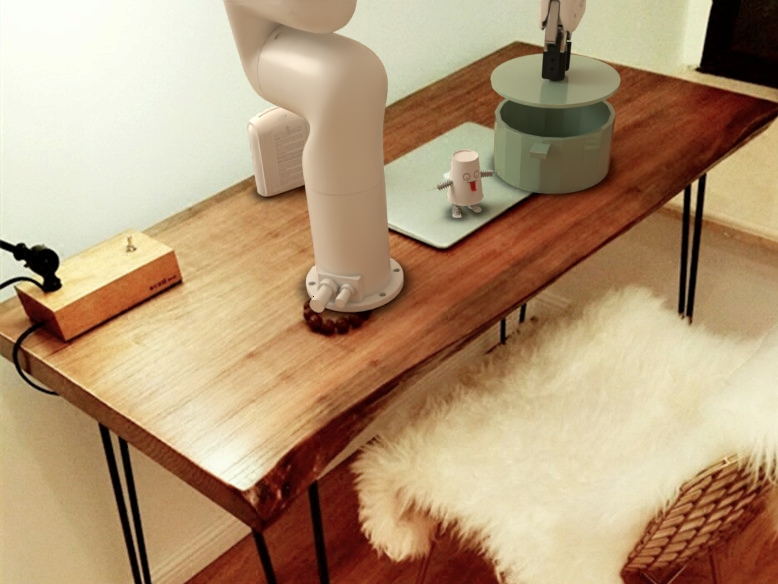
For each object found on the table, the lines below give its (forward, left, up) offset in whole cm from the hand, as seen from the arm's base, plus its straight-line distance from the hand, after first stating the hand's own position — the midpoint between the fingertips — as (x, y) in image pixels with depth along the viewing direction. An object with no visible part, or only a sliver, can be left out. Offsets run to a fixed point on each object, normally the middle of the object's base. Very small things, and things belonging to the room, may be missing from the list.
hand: (555, 73), depth 128 cm
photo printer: (-15, +37, -15) cm, 42 cm away
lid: (0, 0, -1) cm, 1 cm away
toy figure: (-16, +9, -15) cm, 23 cm away
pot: (0, 0, -14) cm, 14 cm away
